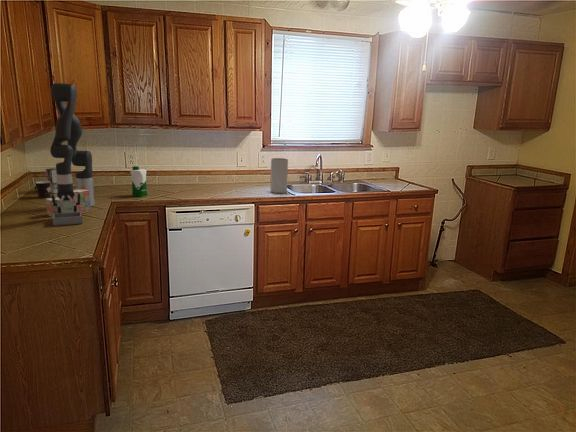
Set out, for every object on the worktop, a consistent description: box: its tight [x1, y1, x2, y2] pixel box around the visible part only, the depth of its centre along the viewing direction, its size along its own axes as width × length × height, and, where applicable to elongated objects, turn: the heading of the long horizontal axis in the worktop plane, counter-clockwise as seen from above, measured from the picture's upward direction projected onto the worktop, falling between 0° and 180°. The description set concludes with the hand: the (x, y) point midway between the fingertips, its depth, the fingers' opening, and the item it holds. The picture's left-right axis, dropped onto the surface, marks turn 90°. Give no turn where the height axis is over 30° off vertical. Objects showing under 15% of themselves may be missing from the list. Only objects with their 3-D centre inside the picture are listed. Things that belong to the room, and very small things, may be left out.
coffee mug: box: [34, 180, 51, 199], centre depth 275 cm, size 12×9×10 cm
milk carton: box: [129, 165, 148, 198], centre depth 290 cm, size 9×9×20 cm
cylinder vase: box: [270, 157, 289, 194], centre depth 321 cm, size 12×12×25 cm
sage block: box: [62, 200, 72, 213], centre depth 230 cm, size 5×4×10 cm
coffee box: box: [45, 167, 58, 194], centre depth 293 cm, size 9×6×16 cm
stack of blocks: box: [45, 189, 91, 218], centre depth 240 cm, size 21×6×12 cm, turn 140°
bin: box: [51, 212, 83, 227], centre depth 221 cm, size 10×13×4 cm
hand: (67, 212), depth 230 cm, fingers open, 6 cm apart
